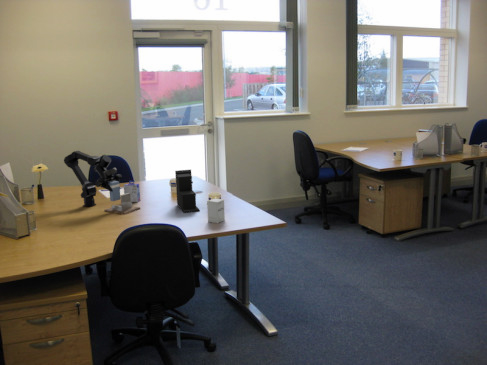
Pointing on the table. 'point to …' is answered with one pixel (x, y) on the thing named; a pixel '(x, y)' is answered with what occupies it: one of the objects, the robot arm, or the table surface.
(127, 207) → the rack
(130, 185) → the ink cartridge box
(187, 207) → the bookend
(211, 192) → the table surface
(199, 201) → the table surface
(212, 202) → the supplement box
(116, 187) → the book
